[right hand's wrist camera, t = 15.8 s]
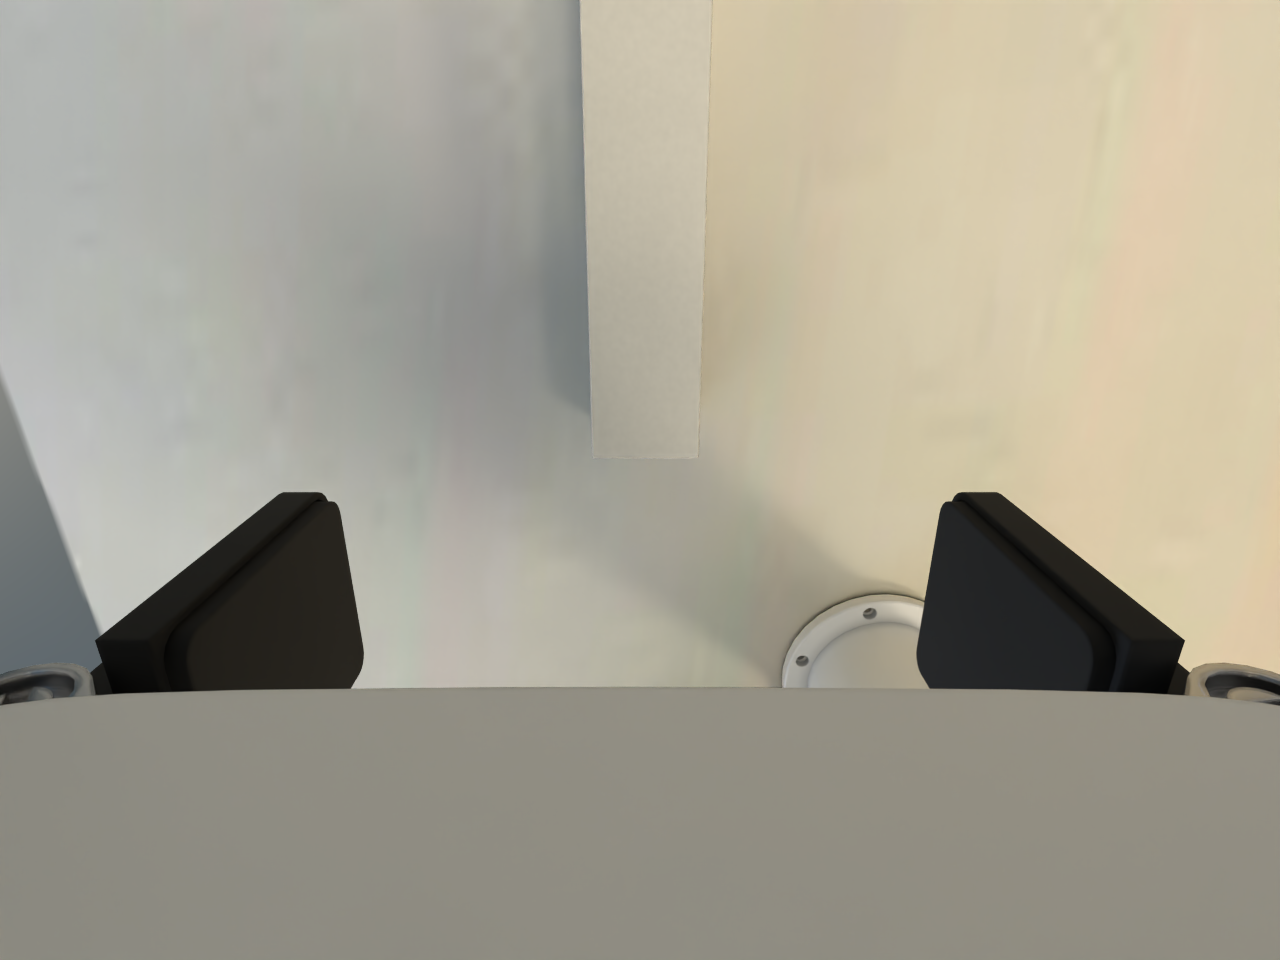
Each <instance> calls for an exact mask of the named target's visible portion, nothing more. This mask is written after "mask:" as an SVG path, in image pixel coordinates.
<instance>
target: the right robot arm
mask: <svg viewBox="0 0 1280 960" xmlns="http://www.w3.org/2000/svg"><path fill="white" fill-rule="evenodd" d="M95 642H96V645H97V648H98V651H99V654H100V657H101V659H102V663H101V664H100V665H99V666H98V667H96V668H95V669H94V670H93V671H92V672H91V673H90V672H89V671H88V670H87V668H84V667H81V666H79V665H76V664H70V663H50V664H41V665H34V666H29V667H25V668H21V669H17V670H13V671H9V672H6V673H3V674H0V960H1280V674H1277V673H1274V672H1271V671H1267V670H1263V669H1259V668H1255V667H1251V666H1247V665H1239V664H1230V663H1210V664H1204V665H1201V666H1198V667H1196V668H1193V670H1192V671H1191V672H1190V673H1189V672H1188V671H1187V670H1186V669H1185V668H1184V667H1182V666H1181V665H1180V664H1179V663H1178V660H1179V657H1180V654H1181V651H1182V648H1183V645H1184V642H1185V640H1184V639H1182V638H1181V637H1180V636H1179V635H1177V634H1176V633H1175V632H1174V631H1172V630H1171V629H1170V628H1169V627H1167V626H1166V625H1165V624H1164V623H1162V622H1161V621H1160V620H1159V619H1157V618H1156V617H1155V616H1153V615H1152V614H1151V613H1150V612H1148V611H1147V610H1146V609H1145V608H1143V607H1142V606H1141V605H1140V604H1138V603H1137V602H1136V601H1135V600H1133V599H1132V598H1131V597H1130V596H1128V595H1127V594H1126V593H1125V592H1123V591H1122V590H1121V589H1120V588H1118V587H1117V586H1116V585H1114V584H1113V583H1112V582H1111V581H1109V580H1108V579H1107V578H1106V577H1104V576H1103V575H1102V574H1101V573H1099V572H1098V571H1097V570H1096V569H1094V568H1093V567H1092V566H1091V565H1089V564H1088V563H1087V562H1086V561H1084V560H1083V559H1082V558H1081V557H1079V556H1078V555H1077V554H1075V553H1074V552H1073V551H1072V550H1070V549H1069V548H1068V547H1067V546H1065V545H1064V544H1063V543H1062V542H1060V541H1059V540H1058V539H1057V538H1055V537H1054V536H1053V535H1052V534H1050V533H1049V532H1048V531H1047V530H1045V529H1044V528H1043V527H1042V526H1040V525H1039V524H1038V523H1037V522H1035V521H1034V520H1033V519H1031V518H1030V517H1029V516H1028V515H1026V514H1025V513H1024V512H1023V511H1021V510H1020V509H1019V508H1018V507H1016V506H1015V505H1014V504H1013V503H1011V502H1010V501H1009V500H1008V499H1006V498H1005V497H1004V496H1003V495H1001V494H999V493H997V492H961V493H958V494H957V495H955V496H954V498H953V500H952V502H945V503H944V504H943V505H942V507H941V510H940V514H939V520H938V526H937V532H936V538H935V544H934V549H933V555H932V561H931V567H930V573H929V579H928V585H927V590H926V596H925V602H923V601H920V600H916V599H913V598H910V597H906V596H899V595H890V594H884V595H869V596H864V597H860V598H855V599H851V600H848V601H846V602H843V603H841V604H838V605H836V606H833V607H832V608H830V609H828V610H827V611H825V612H823V613H822V614H820V615H818V616H817V617H816V618H815V619H814V620H812V621H811V622H810V623H809V624H808V625H807V626H805V628H804V629H803V630H802V631H801V632H800V634H799V635H798V636H797V637H796V638H795V640H794V642H793V643H792V645H791V647H790V649H789V651H788V653H787V655H786V659H785V662H784V665H783V671H782V687H783V688H775V687H477V688H382V689H351V687H352V685H353V684H354V682H355V680H356V679H357V677H358V675H359V673H360V671H361V669H362V665H363V659H364V650H363V643H362V637H361V631H360V625H359V620H358V614H357V608H356V602H355V596H354V590H353V585H352V579H351V573H350V567H349V561H348V555H347V550H346V544H345V538H344V532H343V526H342V520H341V514H340V510H339V507H338V505H337V504H336V503H335V502H328V500H327V498H326V496H325V495H323V494H322V493H319V492H283V493H281V494H279V495H277V496H276V497H275V498H274V499H272V500H271V501H270V502H269V503H267V504H266V505H265V506H264V507H262V508H261V509H260V510H259V511H257V512H256V513H255V514H254V515H252V516H251V517H250V518H249V519H247V520H246V521H245V522H243V523H242V524H241V525H240V526H238V527H237V528H236V529H235V530H233V531H232V532H231V533H230V534H228V535H227V536H226V537H225V538H223V539H222V540H221V541H220V542H218V543H217V544H216V545H215V546H213V547H212V548H211V549H210V550H208V551H207V552H206V553H205V554H203V555H202V556H201V557H199V558H198V559H197V560H196V561H194V562H193V563H192V564H191V565H189V566H188V567H187V568H186V569H184V570H183V571H182V572H181V573H179V574H178V575H177V576H176V577H174V578H173V579H172V580H171V581H169V582H168V583H167V584H166V585H164V586H163V587H162V588H160V589H159V590H158V591H157V592H155V593H154V594H153V595H152V596H150V597H149V598H148V599H147V600H145V601H144V602H143V603H142V604H140V605H139V606H138V607H137V608H135V609H134V610H133V611H132V612H130V613H129V614H128V615H127V616H125V617H124V618H123V619H121V620H120V621H119V622H118V623H116V624H115V625H114V626H113V627H111V628H110V629H109V630H108V631H106V632H105V633H104V634H103V635H101V636H100V637H99V638H98V639H96V640H95Z"/></svg>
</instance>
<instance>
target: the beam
mask: <svg viewBox="0 0 1280 960" xmlns="http://www.w3.org/2000/svg"><path fill="white" fill-rule="evenodd" d="M579 3H580V38H581V74H582V110H583V145H584V181H585V217H586V252H587V288H588V324H589V360H590V395H591V431H592V457H593V458H698V457H699V428H700V396H701V363H702V331H703V299H704V267H705V234H706V202H707V170H708V138H709V105H710V73H711V41H712V9H713V0H579Z"/></svg>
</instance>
